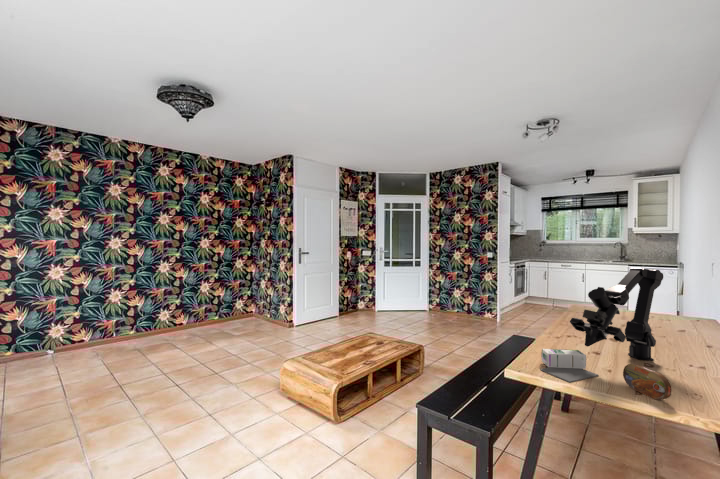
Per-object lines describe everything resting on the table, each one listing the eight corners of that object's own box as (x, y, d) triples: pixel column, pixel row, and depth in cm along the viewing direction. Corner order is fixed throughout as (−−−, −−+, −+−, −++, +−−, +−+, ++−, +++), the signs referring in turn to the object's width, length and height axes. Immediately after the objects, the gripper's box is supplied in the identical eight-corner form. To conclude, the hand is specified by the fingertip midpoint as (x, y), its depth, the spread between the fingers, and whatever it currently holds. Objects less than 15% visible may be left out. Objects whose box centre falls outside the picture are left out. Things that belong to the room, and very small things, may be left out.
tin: (622, 383, 117) (622, 360, 117) (630, 383, 117) (630, 360, 117) (664, 405, 102) (664, 378, 102) (673, 404, 102) (674, 377, 102)
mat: (568, 364, 135) (568, 363, 135) (598, 375, 124) (598, 374, 124) (540, 370, 129) (540, 369, 129) (569, 382, 118) (569, 381, 118)
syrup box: (586, 354, 129) (547, 352, 130) (586, 369, 129) (547, 367, 131) (578, 349, 134) (541, 347, 136) (578, 364, 134) (541, 361, 136)
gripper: (572, 298, 140) (554, 327, 136) (620, 307, 123) (601, 340, 119) (584, 315, 143) (567, 343, 139) (633, 325, 126) (615, 358, 122)
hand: (586, 345), depth 130 cm, fingers closed
